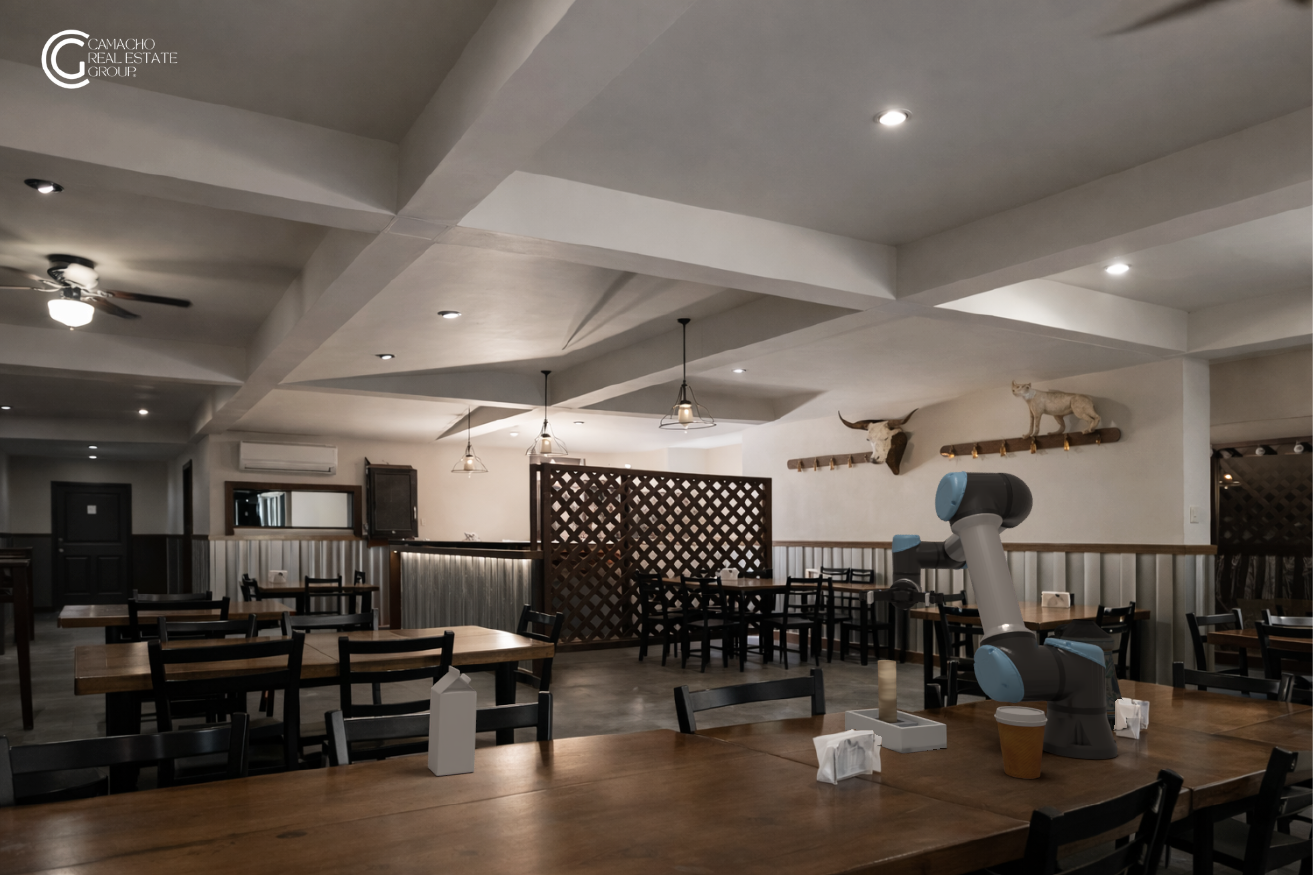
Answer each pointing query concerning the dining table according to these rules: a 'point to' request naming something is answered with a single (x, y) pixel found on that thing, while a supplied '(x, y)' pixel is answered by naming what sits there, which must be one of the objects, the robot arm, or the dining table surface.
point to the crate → (900, 730)
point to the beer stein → (1096, 636)
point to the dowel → (887, 691)
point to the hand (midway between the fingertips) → (897, 599)
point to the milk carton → (452, 725)
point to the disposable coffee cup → (1021, 740)
